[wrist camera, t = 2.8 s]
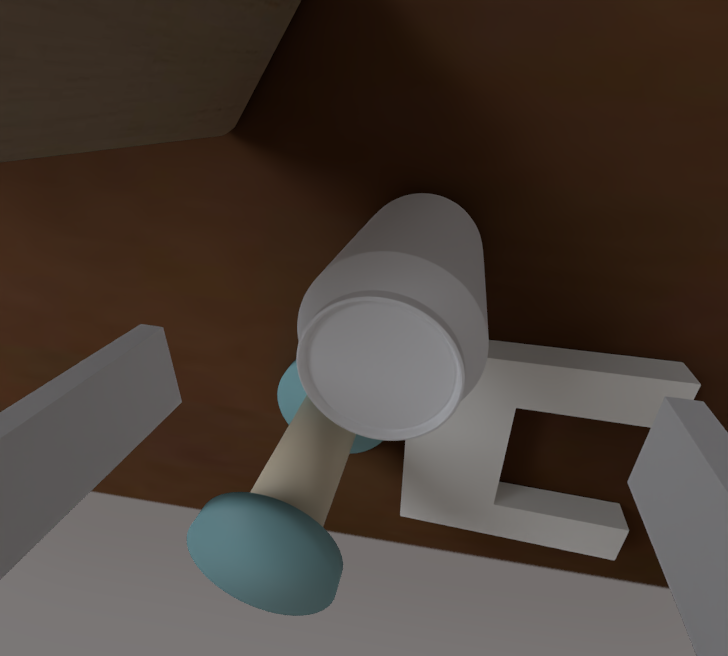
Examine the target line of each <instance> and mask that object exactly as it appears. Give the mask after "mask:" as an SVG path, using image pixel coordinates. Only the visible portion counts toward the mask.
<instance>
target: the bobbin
mask: <svg viewBox="0 0 728 656" xmlns="http://www.w3.org/2000/svg"><path fill="white" fill-rule="evenodd" d="M278 403H279V407H280V410H281V412H282V415H283V417H284V418H285V420H286V421H287V423H288V424H289V426H288V428H287V430H286V432H285V433H284V435H283V437H282V438H281V440H280V442H279V444H278V445H277V447H276V449H275V451H274V452H273V454H272V456H271V457H270V459H269V461H268V463H267V464H266V466H265V468H264V470H263V471H262V473H261V475H260V476H259V478H258V480H257V482H256V483H255V485H254V487H253V488H252V490H251V492H250V493H249V492H231V493H226V494H222V495H219V496H216V497H214V498H213V499H211V500H210V501H208V502H207V503H206V504H205V506H204V507H203V508H202V510H201V511H200V513H199V515H198V516H197V517H196V519H195V520H194V522H193V523H192V525H191V526H190V528H189V530H188V534H187V546H188V550H189V552H190V555H191V557H192V559H193V560H194V562H195V564H196V565H197V566H198V568H199V569H200V570H201V571H202V572H203V574H204V575H205V576H206V577H207V578H208V579H210V580H211V581H212V582H213V583H214V584H215V585H217V586H218V587H219V588H220V589H222V590H223V591H225V592H226V593H228V594H230V595H231V596H233V597H234V598H236V599H238V600H240V601H242V602H244V603H246V604H249V605H251V606H253V607H256V608H259V609H262V610H265V611H268V612H272V613H277V614H283V615H293V616H298V615H299V616H300V615H310V614H314V613H317V612H319V611H322V610H324V609H325V608H327V607H328V606H329V605H330V604H331V603H332V601H333V600H334V597H335V595H336V591H337V587H338V584H339V581H340V577H341V574H342V570H343V561H342V556H341V553H340V550H339V548H338V546H337V544H336V543H335V541H334V540H333V538H332V537H331V536H330V534H329V533H328V532H327V531H326V530H325V529H324V528H323V525H324V523H325V520H326V517H327V514H328V511H329V509H330V506H331V503H332V500H333V498H334V495H335V492H336V489H337V486H338V484H339V481H340V478H341V475H342V473H343V470H344V467H345V464H346V461H347V459H348V456H349V453H359V452H363V451H367V450H369V449H371V448H374V447H375V446H377V445H378V444H380V443H381V442H382V441H383V440H377V439H371V438H367V437H364V436H360V435H358V434H355V433H352V432H350V431H348V430H346V429H344V428H342V427H340V426H339V425H337V424H335V423H334V422H333V421H331V420H330V419H329V418H327V417H326V416H325V415H324V414H323V413H322V412H321V411H320V410H319V409H318V408H317V407H316V406H315V405H314V404H313V402H312V401H311V400H310V398H309V397H308V395H307V394H306V392H305V390H304V388H303V386H302V384H301V381H300V378H299V375H298V370H297V362H296V360H295V361H294V362H293V363H292V364H291V365H290V367H289V368H288V369H287V371H286V372H285V374H284V375H283V376H282V378H281V380H280V383H279V386H278Z"/></svg>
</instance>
